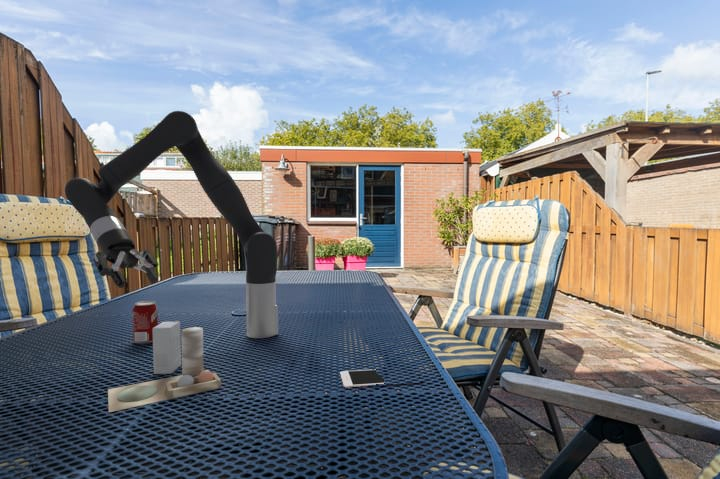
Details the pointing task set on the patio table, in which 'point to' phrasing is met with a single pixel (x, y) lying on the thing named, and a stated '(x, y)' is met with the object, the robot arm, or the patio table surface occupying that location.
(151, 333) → the soda can
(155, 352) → the skincare box
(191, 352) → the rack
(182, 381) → the ball
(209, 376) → the ball
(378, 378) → the cell phone
